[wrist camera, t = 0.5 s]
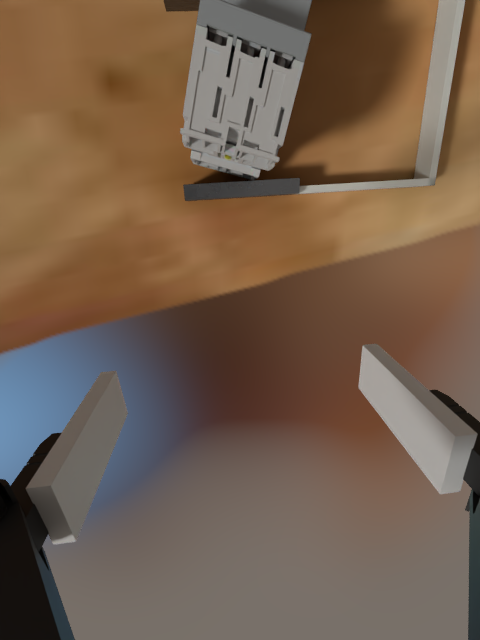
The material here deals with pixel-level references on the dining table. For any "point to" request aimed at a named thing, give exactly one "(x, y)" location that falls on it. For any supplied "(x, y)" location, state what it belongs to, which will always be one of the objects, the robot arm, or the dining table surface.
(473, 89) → the dining table surface
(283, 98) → the circuit breaker
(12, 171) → the dining table surface
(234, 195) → the dark gray open bay
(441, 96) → the parts bay
